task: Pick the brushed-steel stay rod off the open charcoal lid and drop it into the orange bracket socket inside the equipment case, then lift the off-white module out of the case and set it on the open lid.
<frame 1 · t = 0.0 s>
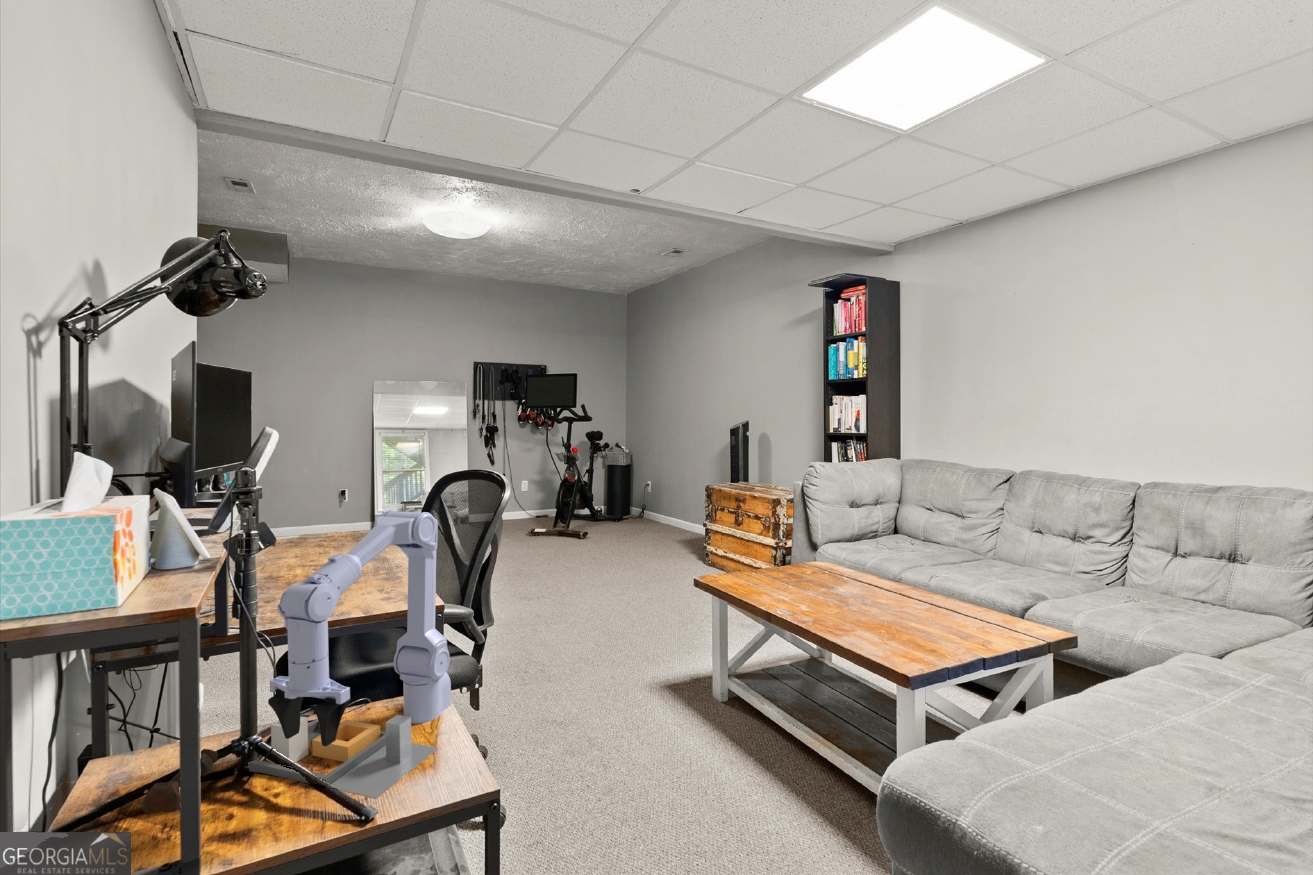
hand: (310, 739, 103), 10 cm above the table, fingers open, 7 cm apart
case: (321, 759, 116), on the table
module: (290, 759, 114), point 1 cm above the table, touching case
bolt: (187, 792, 106), on the table
stay rod: (399, 757, 114), point 1 cm above the table, touching lid
lid: (386, 773, 111), on the table
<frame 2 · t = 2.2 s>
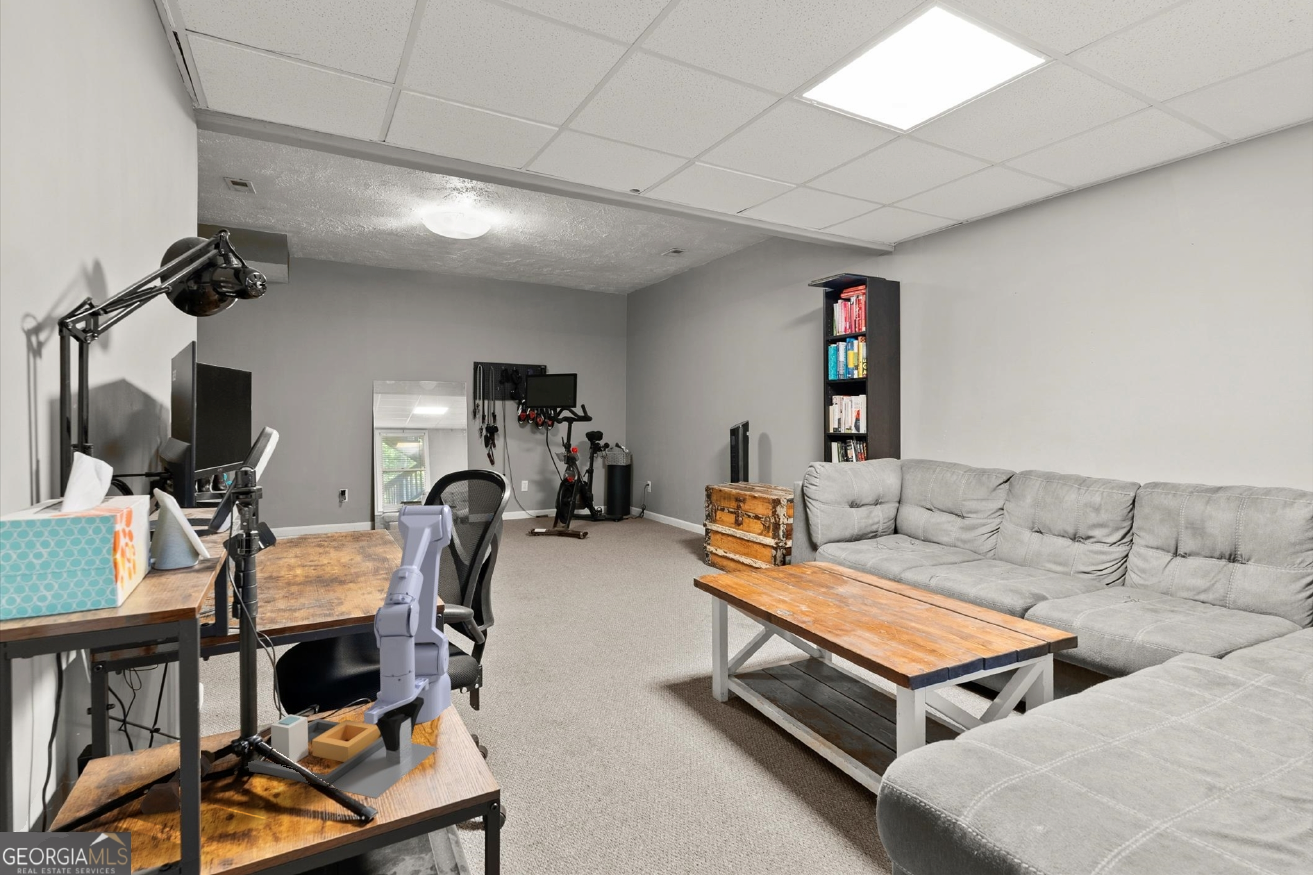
hand: (398, 744, 114), 4 cm above the table, fingers closed on stay rod, 3 cm apart
stay rod: (399, 757, 114), point 1 cm above the table, touching gripper, lid
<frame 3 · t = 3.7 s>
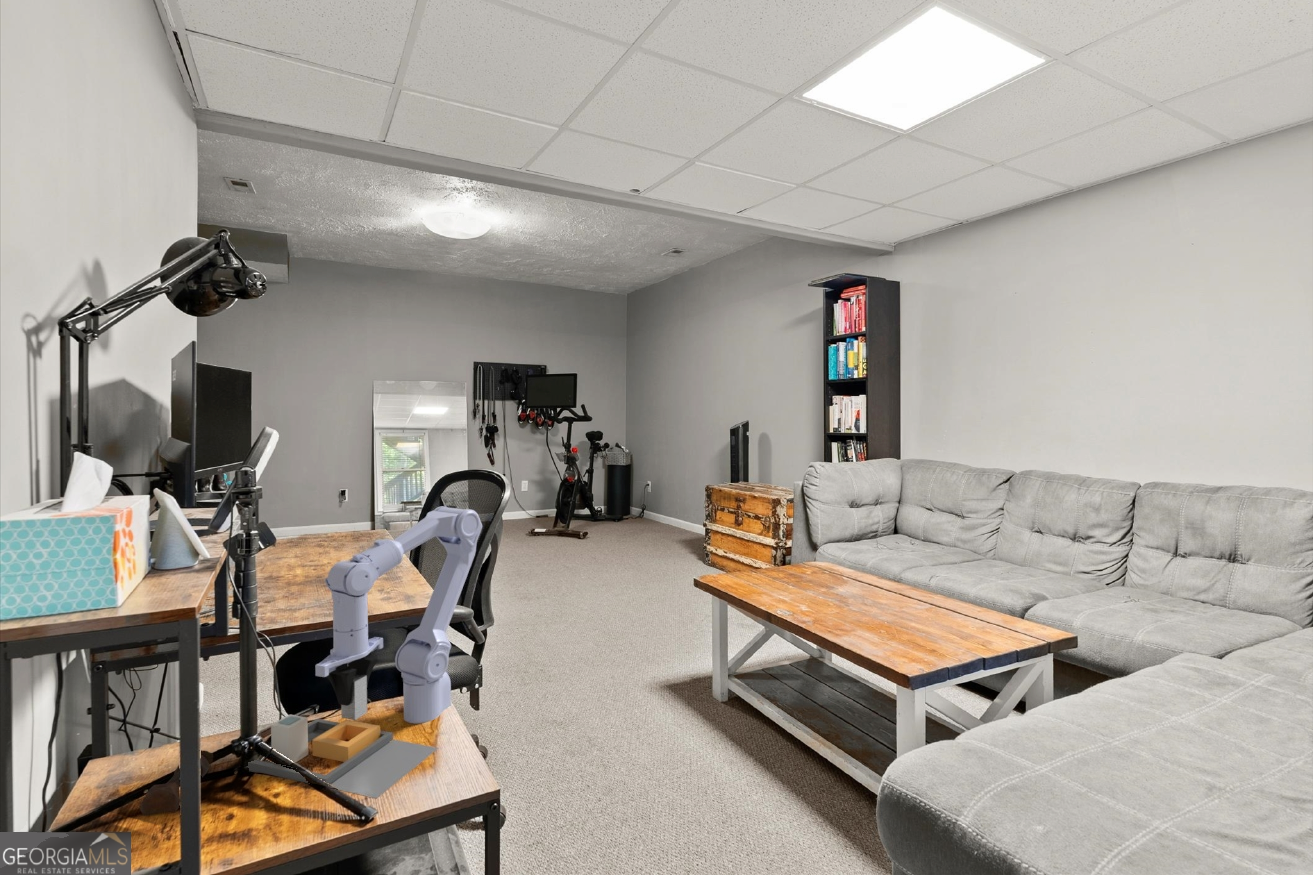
hand: (351, 699, 117), 10 cm above the table, fingers closed on stay rod, 3 cm apart
stay rod: (354, 715, 117), point 8 cm above the table, touching gripper
everything else where it was.
when the fingers open (5 cm above the table, at t = 5.2 s): stay rod drops 1 cm, resting on case.
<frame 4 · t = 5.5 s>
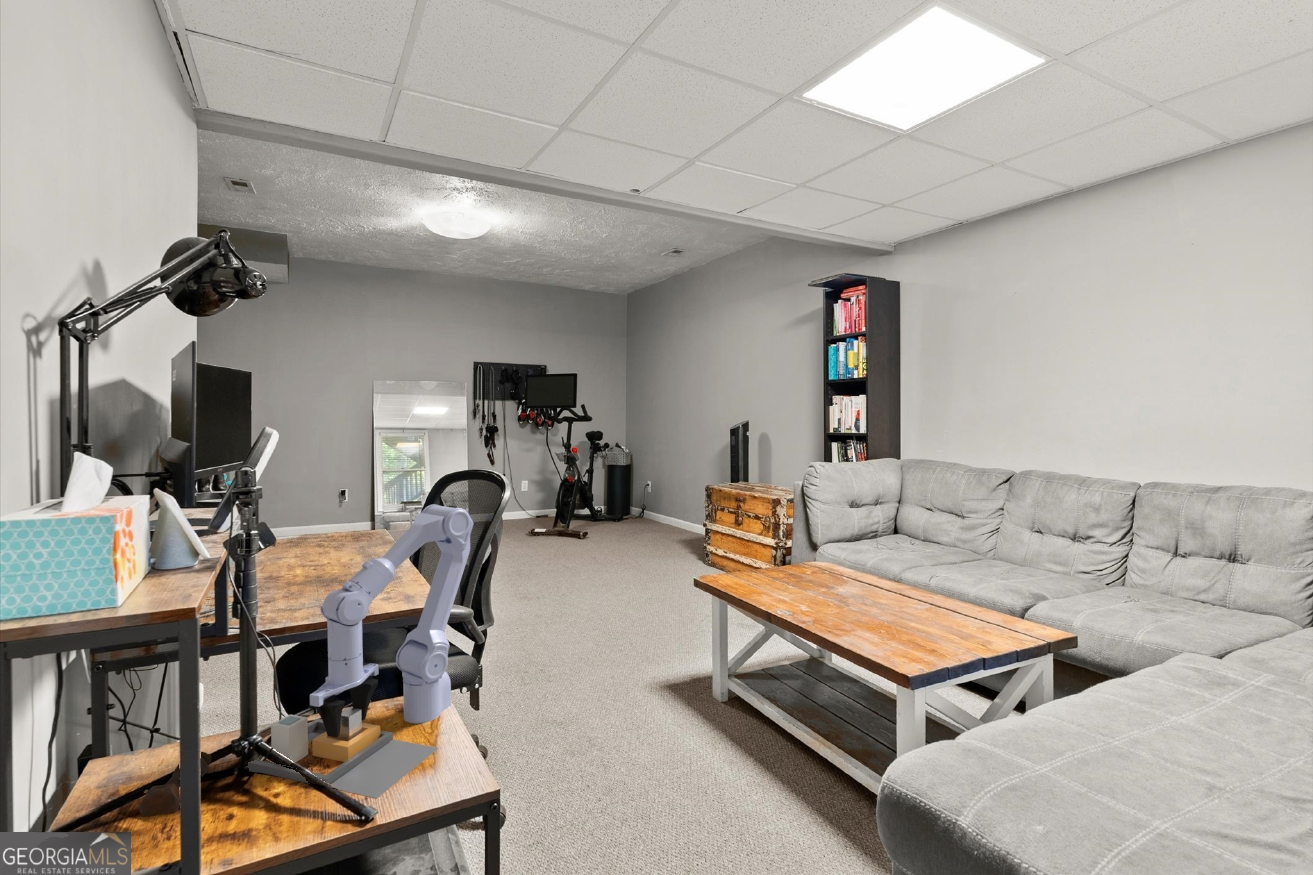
hand: (346, 727, 117), 5 cm above the table, fingers open, 6 cm apart
stay rod: (349, 749, 117), point 1 cm above the table, touching case
everything else where it was.
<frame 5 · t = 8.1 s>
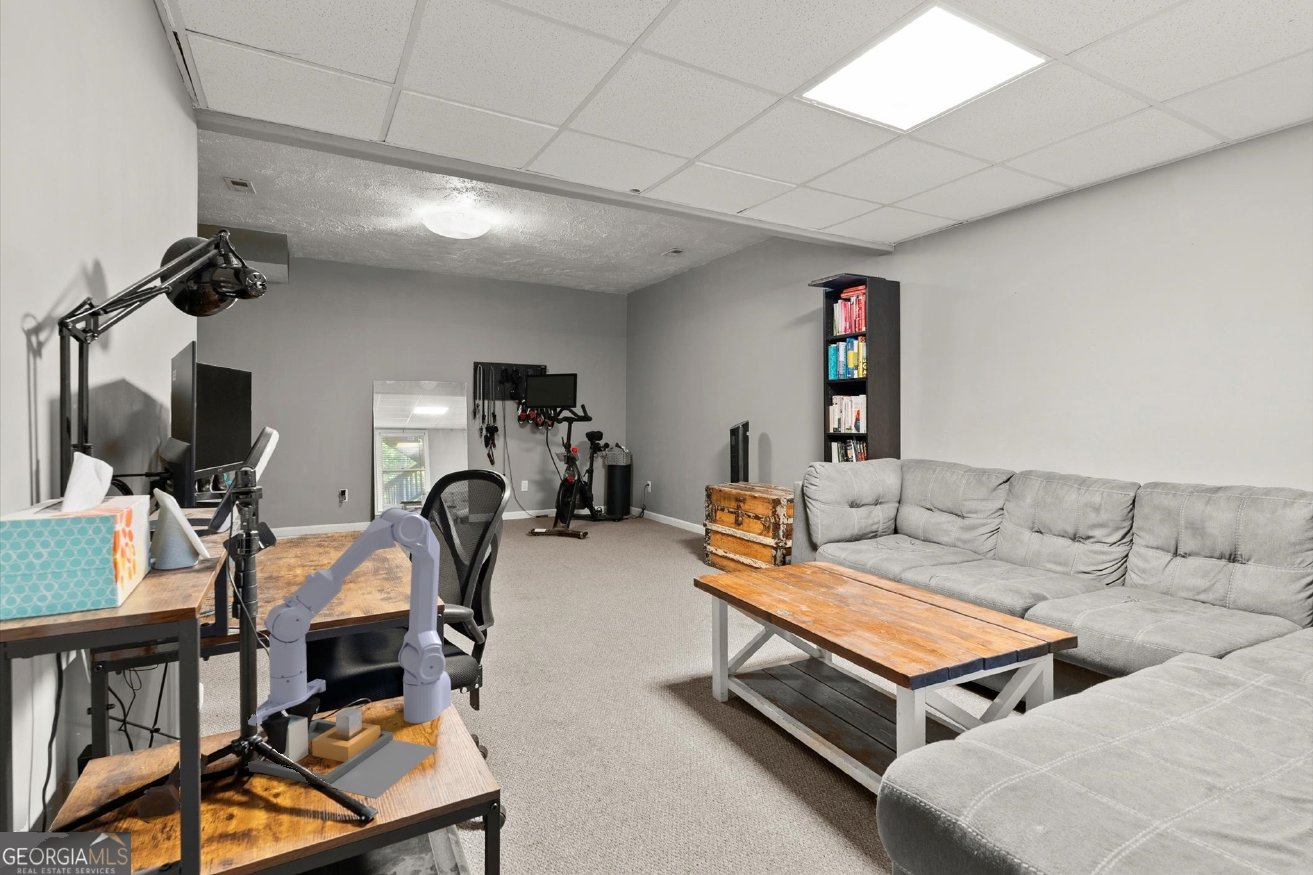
hand: (290, 746, 114), 3 cm above the table, fingers closed on module, 4 cm apart
module: (290, 759, 114), point 1 cm above the table, touching case, gripper
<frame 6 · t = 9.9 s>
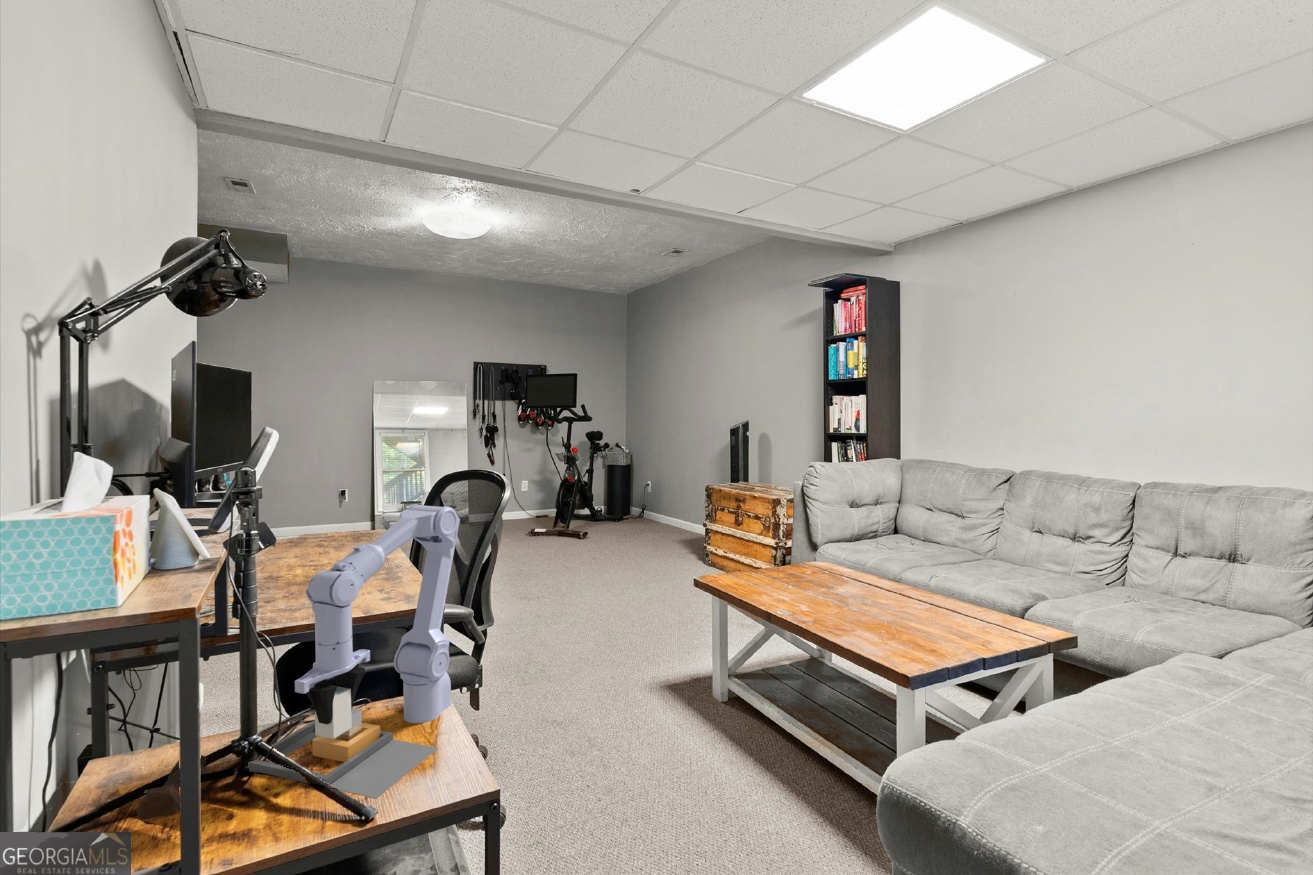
hand: (335, 716, 110), 10 cm above the table, fingers closed on module, 4 cm apart
module: (333, 731, 111), point 8 cm above the table, touching gripper
when the fingers open (5 cm above the table, at t = 11.8 s): module drops 1 cm, resting on lid.
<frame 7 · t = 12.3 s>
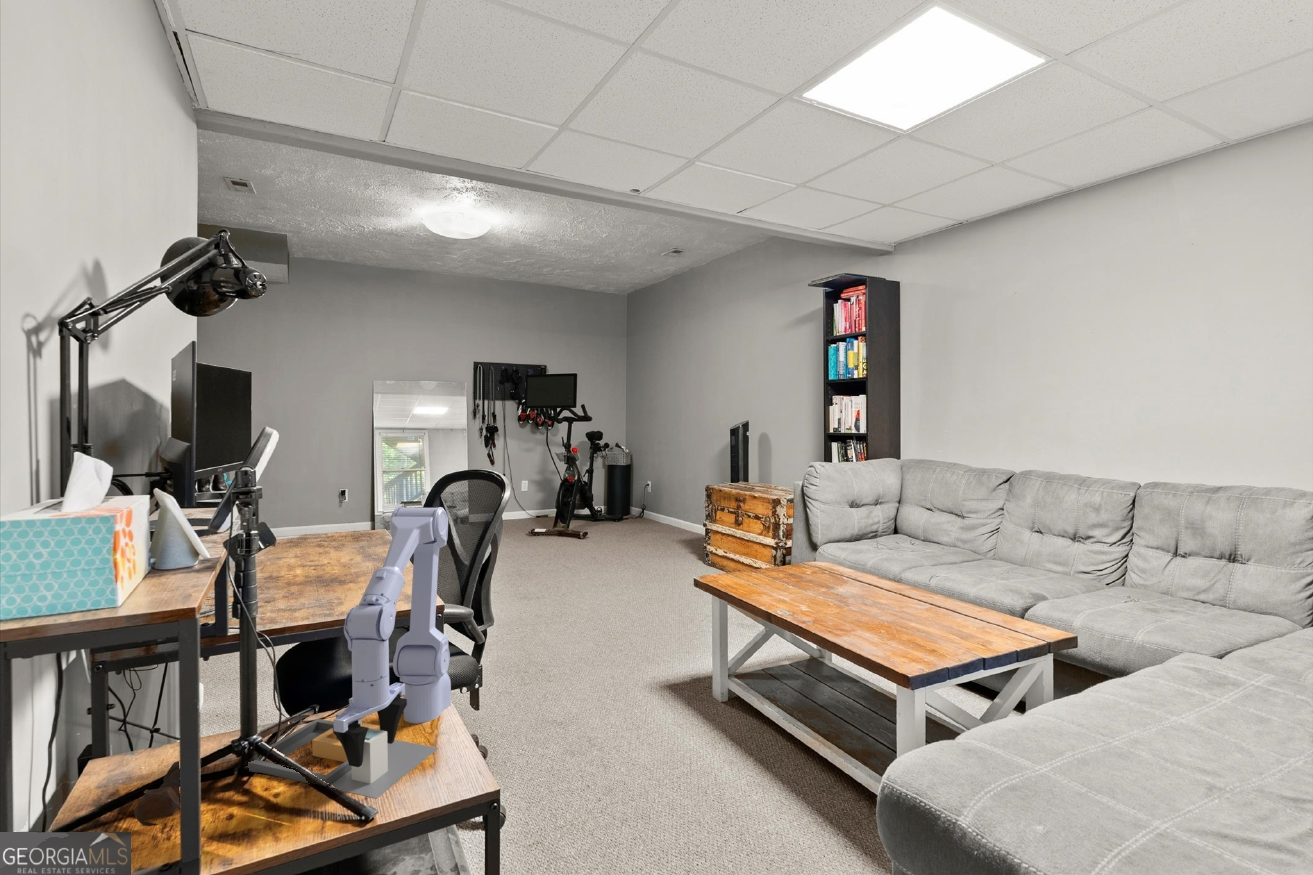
hand: (372, 753, 108), 5 cm above the table, fingers open, 7 cm apart
module: (370, 774, 109), point 1 cm above the table, touching lid
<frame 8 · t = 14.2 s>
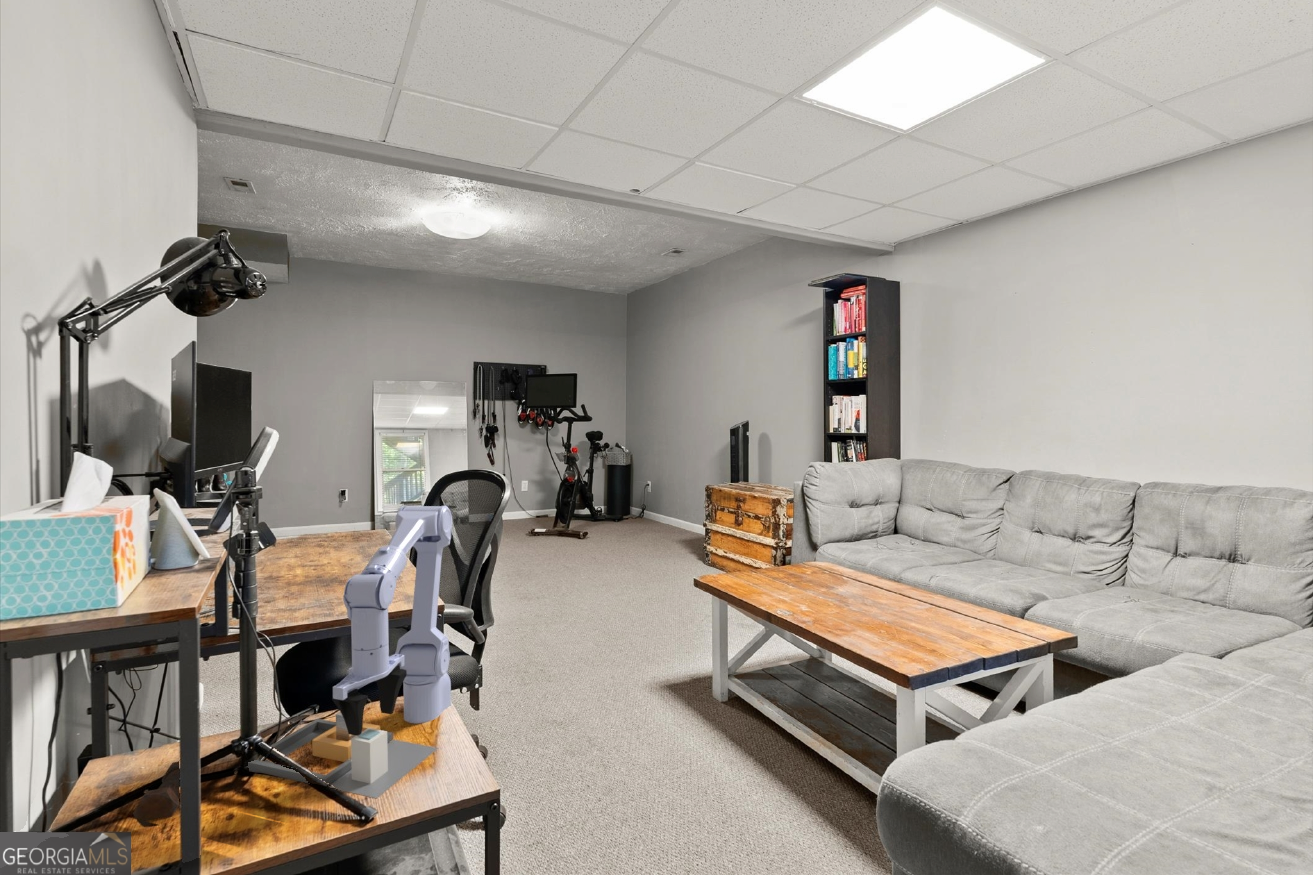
hand: (371, 722, 108), 10 cm above the table, fingers open, 7 cm apart
at the end: stay rod 0.5 cm from the target spot on the case, point 1.0 cm above the case's base; stay rod tilted 0°; module 0.4 cm from the target spot on the lid, point 1.2 cm above the lid's base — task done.
